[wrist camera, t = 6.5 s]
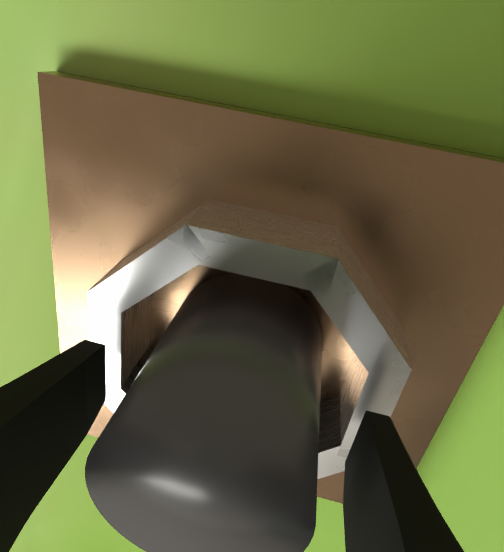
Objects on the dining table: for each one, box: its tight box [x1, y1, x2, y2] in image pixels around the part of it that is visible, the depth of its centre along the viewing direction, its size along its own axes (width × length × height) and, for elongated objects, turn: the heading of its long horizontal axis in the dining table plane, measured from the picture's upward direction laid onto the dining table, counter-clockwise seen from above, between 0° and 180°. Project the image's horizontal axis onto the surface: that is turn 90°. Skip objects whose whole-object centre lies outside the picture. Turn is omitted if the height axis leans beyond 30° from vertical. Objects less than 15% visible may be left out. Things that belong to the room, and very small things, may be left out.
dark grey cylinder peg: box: [85, 273, 323, 552], centre depth 11 cm, size 5×5×6 cm
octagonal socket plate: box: [38, 71, 504, 503], centre depth 13 cm, size 14×14×3 cm
